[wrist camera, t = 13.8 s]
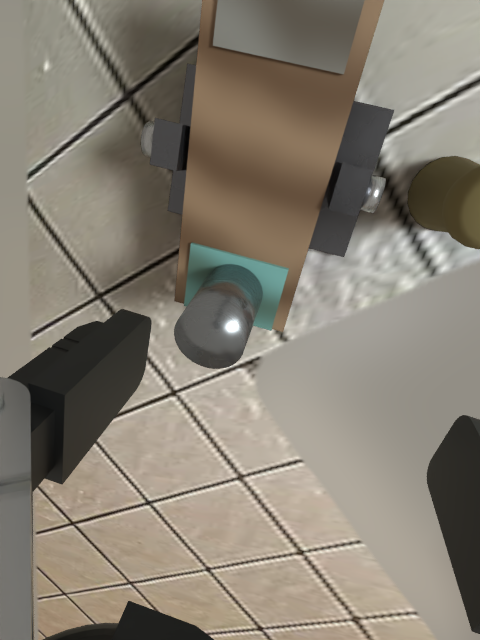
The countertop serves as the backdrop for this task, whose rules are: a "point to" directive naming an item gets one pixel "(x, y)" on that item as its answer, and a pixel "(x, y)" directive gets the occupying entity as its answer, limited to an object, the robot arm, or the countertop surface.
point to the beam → (267, 136)
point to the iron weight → (220, 317)
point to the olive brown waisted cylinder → (448, 199)
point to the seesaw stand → (344, 184)
